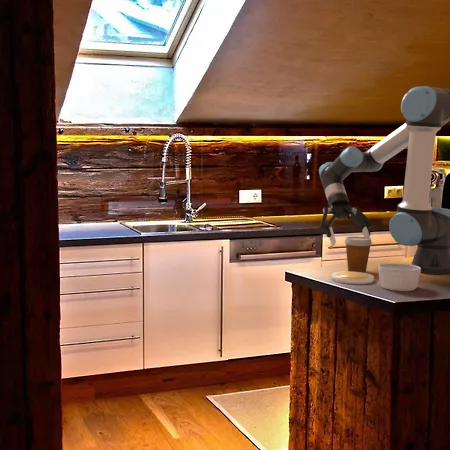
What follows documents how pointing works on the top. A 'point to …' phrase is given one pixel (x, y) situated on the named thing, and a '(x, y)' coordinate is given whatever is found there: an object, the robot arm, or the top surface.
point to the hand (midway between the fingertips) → (351, 243)
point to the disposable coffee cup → (357, 253)
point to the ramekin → (399, 276)
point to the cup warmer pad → (352, 277)
